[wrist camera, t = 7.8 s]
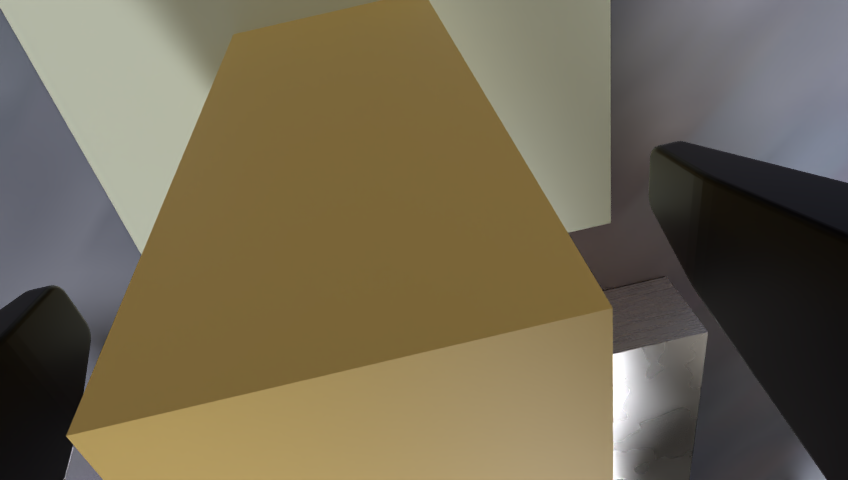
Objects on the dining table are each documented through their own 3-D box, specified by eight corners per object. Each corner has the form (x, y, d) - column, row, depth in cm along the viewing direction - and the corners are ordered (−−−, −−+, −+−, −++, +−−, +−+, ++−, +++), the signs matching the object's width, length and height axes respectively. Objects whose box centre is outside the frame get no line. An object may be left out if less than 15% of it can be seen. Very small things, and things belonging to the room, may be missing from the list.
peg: (423, -10, 13) (612, 308, 4) (453, 160, 15) (613, 574, 7) (233, 34, 12) (66, 437, 4) (292, 197, 15) (257, 659, 7)
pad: (598, -233, 11) (609, -235, 11) (602, 211, 17) (610, 223, 17) (-37, -90, 11) (-54, -86, 11) (184, 308, 17) (180, 322, 16)
